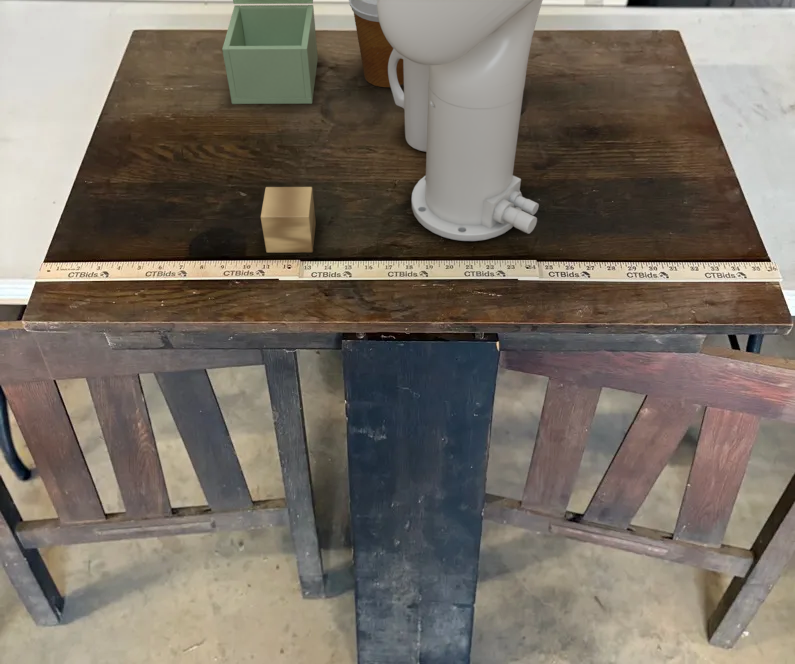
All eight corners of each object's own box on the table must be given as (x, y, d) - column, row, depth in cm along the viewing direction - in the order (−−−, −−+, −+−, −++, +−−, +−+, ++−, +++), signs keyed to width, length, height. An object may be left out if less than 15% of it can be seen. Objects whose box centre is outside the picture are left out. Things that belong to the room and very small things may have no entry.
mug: (468, 136, 100) (474, 46, 91) (434, 160, 97) (437, 70, 88) (406, 107, 105) (406, 19, 96) (372, 130, 101) (369, 41, 92)
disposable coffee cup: (348, 92, 107) (343, 5, 98) (356, 56, 113) (353, -29, 104) (419, 95, 106) (421, 8, 97) (423, 58, 113) (425, -27, 104)
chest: (312, 103, 105) (307, 48, 99) (231, 104, 105) (222, 49, 99) (317, 58, 113) (313, 4, 107) (242, 58, 113) (234, 5, 107)
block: (315, 222, 89) (312, 186, 85) (312, 252, 86) (308, 216, 82) (271, 222, 89) (265, 186, 85) (266, 252, 86) (260, 217, 82)
